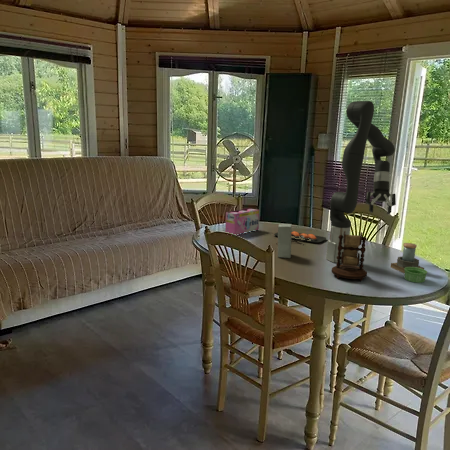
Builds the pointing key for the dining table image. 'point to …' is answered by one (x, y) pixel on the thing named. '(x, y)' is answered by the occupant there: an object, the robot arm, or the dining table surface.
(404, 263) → the socket
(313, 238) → the sushi plate
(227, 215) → the gum box
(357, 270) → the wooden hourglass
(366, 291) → the dining table surface
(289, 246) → the skincare box
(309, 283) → the dining table surface
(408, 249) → the canister
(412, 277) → the ramekin
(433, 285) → the dining table surface
